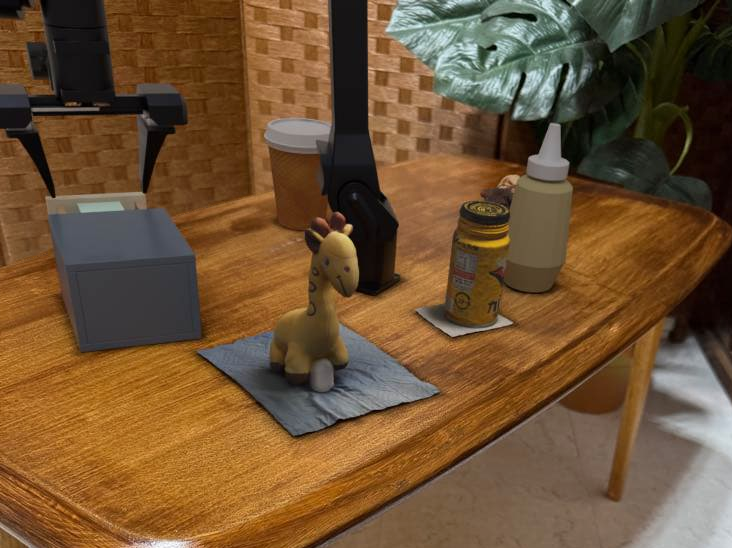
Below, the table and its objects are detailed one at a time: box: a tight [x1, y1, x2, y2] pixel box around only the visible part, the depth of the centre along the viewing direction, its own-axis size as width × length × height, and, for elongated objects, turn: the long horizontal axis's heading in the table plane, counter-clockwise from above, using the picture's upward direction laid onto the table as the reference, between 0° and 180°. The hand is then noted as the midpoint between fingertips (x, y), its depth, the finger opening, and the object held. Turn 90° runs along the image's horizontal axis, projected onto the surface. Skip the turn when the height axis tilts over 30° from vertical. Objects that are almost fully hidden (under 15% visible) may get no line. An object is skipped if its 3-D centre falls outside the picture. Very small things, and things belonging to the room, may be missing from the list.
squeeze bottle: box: [503, 122, 574, 293], centre depth 97 cm, size 8×8×18 cm
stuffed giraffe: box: [196, 212, 440, 437], centre depth 77 cm, size 16×18×16 cm
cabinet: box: [47, 207, 202, 353], centre depth 85 cm, size 14×12×9 cm
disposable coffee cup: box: [263, 117, 331, 231], centre depth 110 cm, size 10×10×12 cm
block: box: [77, 201, 124, 213], centre depth 92 cm, size 4×4×6 cm
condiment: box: [414, 200, 514, 338], centre depth 90 cm, size 7×8×12 cm
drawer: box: [44, 191, 148, 216], centre depth 93 cm, size 17×10×7 cm, turn 24°
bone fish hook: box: [479, 174, 521, 210], centre depth 123 cm, size 9×5×18 cm
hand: (99, 194), depth 89 cm, fingers open, 9 cm apart
